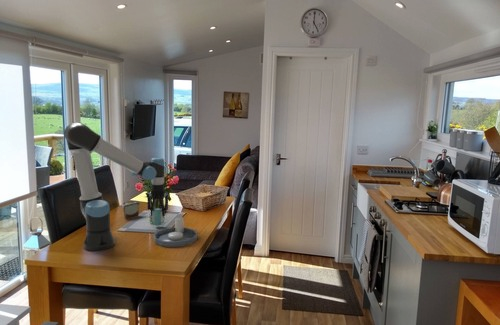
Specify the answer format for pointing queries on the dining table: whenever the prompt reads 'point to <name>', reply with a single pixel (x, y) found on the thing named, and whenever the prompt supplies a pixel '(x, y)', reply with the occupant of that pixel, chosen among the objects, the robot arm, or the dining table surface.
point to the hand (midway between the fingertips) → (157, 221)
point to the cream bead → (179, 224)
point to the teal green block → (157, 217)
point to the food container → (131, 209)
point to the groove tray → (169, 243)
